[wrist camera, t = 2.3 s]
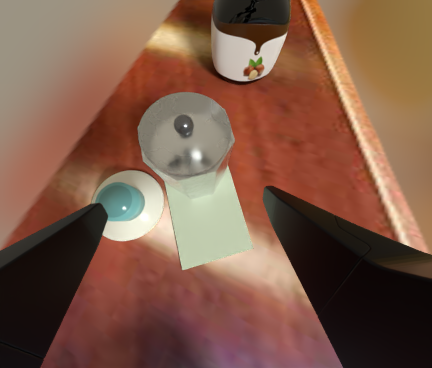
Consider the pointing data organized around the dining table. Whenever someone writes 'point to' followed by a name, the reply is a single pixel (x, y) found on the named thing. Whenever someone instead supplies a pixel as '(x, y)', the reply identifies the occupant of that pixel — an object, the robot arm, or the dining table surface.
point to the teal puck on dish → (130, 204)
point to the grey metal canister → (187, 142)
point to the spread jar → (248, 37)
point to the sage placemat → (208, 224)
